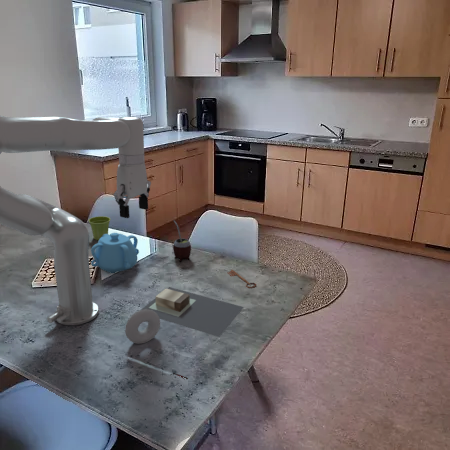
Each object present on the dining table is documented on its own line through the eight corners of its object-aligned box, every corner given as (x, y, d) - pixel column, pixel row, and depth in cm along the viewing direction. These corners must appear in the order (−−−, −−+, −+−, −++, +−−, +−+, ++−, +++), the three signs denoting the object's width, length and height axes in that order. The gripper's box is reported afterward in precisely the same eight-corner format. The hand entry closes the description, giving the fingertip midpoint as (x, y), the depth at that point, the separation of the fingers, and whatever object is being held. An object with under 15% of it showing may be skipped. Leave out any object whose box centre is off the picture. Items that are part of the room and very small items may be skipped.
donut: (157, 333, 117) (156, 302, 114) (162, 339, 115) (162, 308, 111) (124, 344, 112) (122, 312, 108) (129, 351, 109) (127, 319, 106)
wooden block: (189, 302, 132) (189, 294, 131) (180, 311, 127) (179, 303, 126) (166, 296, 136) (165, 288, 135) (155, 304, 130) (155, 296, 129)
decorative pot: (86, 273, 151) (82, 239, 146) (105, 256, 165) (103, 224, 161) (128, 278, 148) (125, 244, 143) (144, 260, 163) (142, 228, 158)
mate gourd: (188, 263, 161) (188, 228, 156) (169, 261, 162) (168, 226, 157) (192, 255, 168) (192, 221, 163) (174, 254, 169) (173, 220, 164)
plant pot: (116, 237, 185) (115, 218, 182) (100, 243, 177) (98, 224, 175) (101, 232, 190) (100, 214, 187) (85, 238, 182) (83, 220, 179)
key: (223, 274, 155) (244, 291, 143) (223, 272, 155) (244, 289, 142) (236, 270, 157) (257, 286, 145) (236, 268, 157) (257, 284, 145)
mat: (219, 338, 116) (219, 336, 115) (138, 313, 127) (138, 311, 126) (243, 308, 131) (243, 306, 131) (169, 288, 142) (169, 286, 142)
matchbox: (165, 379, 100) (165, 377, 100) (180, 368, 104) (180, 367, 104) (178, 388, 97) (178, 386, 97) (193, 377, 101) (193, 375, 101)
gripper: (138, 153, 132) (141, 204, 138) (102, 162, 118) (106, 218, 123) (158, 156, 129) (159, 207, 135) (123, 165, 115) (126, 223, 121)
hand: (134, 213), depth 129 cm, fingers open, 9 cm apart
